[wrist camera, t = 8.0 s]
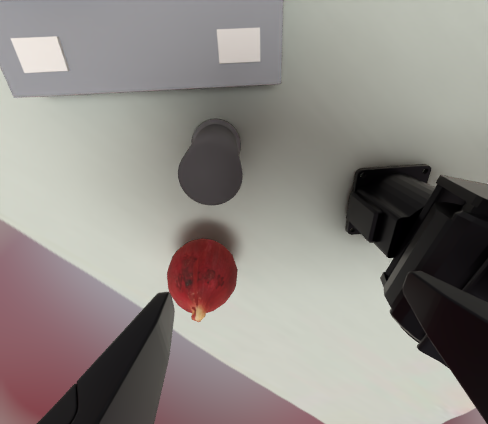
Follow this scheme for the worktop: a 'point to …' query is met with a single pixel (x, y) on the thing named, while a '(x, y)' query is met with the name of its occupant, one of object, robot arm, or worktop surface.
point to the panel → (138, 45)
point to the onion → (201, 277)
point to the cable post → (212, 163)
